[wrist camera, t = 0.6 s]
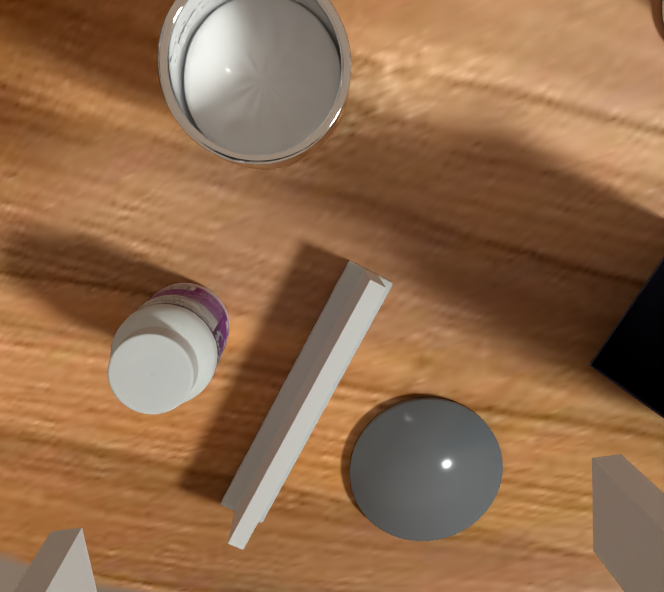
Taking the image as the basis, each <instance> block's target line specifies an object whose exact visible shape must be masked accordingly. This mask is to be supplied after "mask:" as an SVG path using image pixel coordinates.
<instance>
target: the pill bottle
mask: <svg viewBox="0 0 664 592" xmlns="http://www.w3.org/2000/svg"><path fill="white" fill-rule="evenodd" d="M229 330H230V322H229V316H228V313H227V310H226V308H225V306H224V304H223V303H222V301H221V300H220V299H219V298H218V296H217V295H215V294H214V293H213V292H212V291H210V290H209V289H207V288H205V287H203V286H200V285H197V284H193V283H177V284H172V285H170V286H167V287H165V288H163V289H161V290H160V291H158V292H157V293H155V294H154V295H153V296H152V297H151V298H150V299H148V300H147V301H146V302H145V303H144V304H143V305H141V306H140V307H139V308H138V309H137V310H136V311H134V312H133V313H132V314H131V315H130V316H129V317H128V318H127V319H126V320H125V321H124V322H123V323H122V324H121V326H120V327H119V328H118V330H117V332H116V334H115V336H114V339H113V341H112V345H111V355H110V356H111V358H110V361H109V365H108V380H109V384H110V386H111V389H112V391H113V393H114V394H115V396H116V397H117V398H118V399H119V400H120V401H121V402H122V403H123V404H124V405H125V406H127V407H128V408H130V409H132V410H134V411H137V412H140V413H144V414H161V413H165V412H168V411H170V410H172V409H174V408H176V407H177V406H179V405H180V404H181V403H184V402H186V401H189V400H190V399H192V398H194V397H195V396H197V395H198V394H199V393H200V392H201V391H202V390H203V389H204V388H205V387H206V386H207V385H208V383H209V382H210V380H211V379H212V377H213V375H214V372H215V370H216V367H217V365H218V362H219V360H220V357H221V355H222V353H223V350H224V348H225V345H226V343H227V340H228V336H229Z"/></svg>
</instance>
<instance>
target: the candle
mask: <svg viewBox="0 0 664 592" xmlns="http://www.w3.org/2000/svg"><path fill="white" fill-rule="evenodd" d="M662 15H663V22H664V0H662Z"/></svg>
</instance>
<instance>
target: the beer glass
mask: <svg viewBox="0 0 664 592" xmlns="http://www.w3.org/2000/svg"><path fill="white" fill-rule="evenodd" d="M157 67H158V76H159V81H160V86H161V89H162V93H163V96H164V98H165V101H166V103H167V105H168V107H169V109H170V111H171V113H172V115H173V116H174V118H175V119H176V121H177V122H178V124H179V125H180V126H181V128H182V129H183V130H184V131H185V132H186V133H187V134H188V135H189V136H190V137H191V138H192V139H193V140H194V141H195V142H196V143H198V144H199V145H200V146H202V147H203V148H204V149H206V150H208V151H209V152H211V153H213V154H214V155H216V156H218V157H219V158H221V159H223V160H225V161H227V162H230V163H232V164H235V165H238V166H242V167H246V168H252V169H261V170H267V169H278V168H283V167H287V166H290V165H293V164H296V163H298V162H300V161H302V160H304V159H306V158H308V157H309V156H311V155H312V154H314V153H315V152H316V151H317V150H319V149H320V148H321V147H322V146H323V145H324V144H325V143H326V142H327V141H328V139H329V138H330V137H331V136H332V134H333V133H334V131H335V130H336V128H337V126H338V124H339V122H340V120H341V118H342V116H343V113H344V111H345V108H346V105H347V101H348V96H349V91H350V80H351V52H350V46H349V41H348V37H347V34H346V31H345V28H344V25H343V23H342V21H341V19H340V17H339V15H338V13H337V11H336V9H335V8H334V6H333V5H332V3H331V2H330V1H329V0H175V1H174V3H173V5H172V6H171V8H170V10H169V12H168V14H167V16H166V18H165V20H164V23H163V26H162V29H161V33H160V37H159V42H158V51H157Z"/></svg>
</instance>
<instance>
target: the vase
mask: <svg viewBox="0 0 664 592" xmlns="http://www.w3.org/2000/svg"><path fill="white" fill-rule="evenodd" d="M590 366H591V367H593V368H594V369H595V370H597V371H598V372H600V373H601V374H602V375H604V376H605V377H607V378H608V379H609V380H611V381H612V382H614V383H615V384H616V385H618V386H619V387H621V388H622V389H623V390H625V391H626V392H628V393H629V394H630V395H632V396H633V397H635V398H636V399H638V400H639V401H640V402H642V403H643V404H645V405H646V406H647V407H649V408H650V409H652V410H653V411H654V412H656V413H657V414H659V415H660V416H661V417H663V418H664V257H663V259H662V260H661V262H660V263H659V265H658V266H657V267H656V269H655V270H654V272H653V273H652V275H651V276H650V278H649V279H648V281H647V282H646V283H645V285H644V286H643V288H642V289H641V291H640V292H639V294H638V295H637V296H636V298H635V299H634V301H633V302H632V304H631V305H630V307H629V308H628V310H627V311H626V312H625V314H624V315H623V317H622V318H621V320H620V321H619V323H618V324H617V326H616V327H615V328H614V330H613V331H612V333H611V334H610V336H609V337H608V339H607V340H606V342H605V343H604V344H603V346H602V347H601V349H600V350H599V352H598V353H597V355H596V356H595V357H594V359H593V360H592V362H591V363H590Z"/></svg>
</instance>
